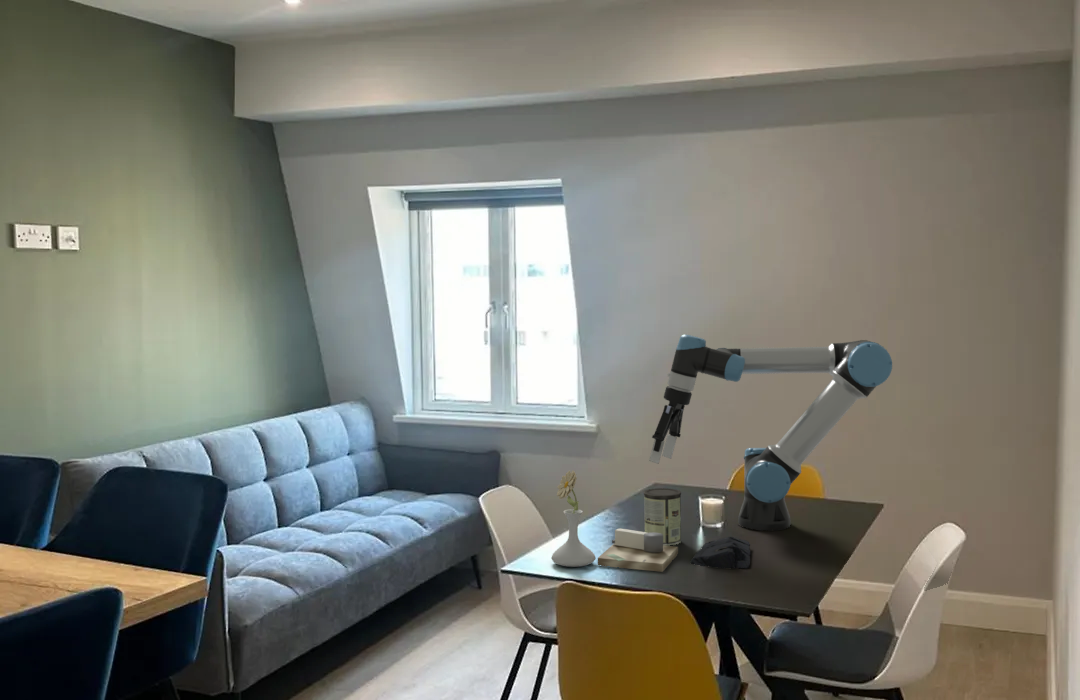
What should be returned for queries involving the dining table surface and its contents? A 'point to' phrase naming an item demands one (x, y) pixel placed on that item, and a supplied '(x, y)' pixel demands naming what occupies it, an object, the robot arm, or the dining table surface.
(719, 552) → the dark slate chunk
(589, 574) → the dining table surface
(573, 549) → the flower in vase
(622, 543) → the peg
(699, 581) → the dining table surface
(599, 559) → the board
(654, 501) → the coffee can
